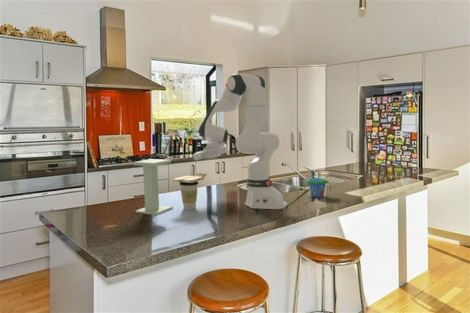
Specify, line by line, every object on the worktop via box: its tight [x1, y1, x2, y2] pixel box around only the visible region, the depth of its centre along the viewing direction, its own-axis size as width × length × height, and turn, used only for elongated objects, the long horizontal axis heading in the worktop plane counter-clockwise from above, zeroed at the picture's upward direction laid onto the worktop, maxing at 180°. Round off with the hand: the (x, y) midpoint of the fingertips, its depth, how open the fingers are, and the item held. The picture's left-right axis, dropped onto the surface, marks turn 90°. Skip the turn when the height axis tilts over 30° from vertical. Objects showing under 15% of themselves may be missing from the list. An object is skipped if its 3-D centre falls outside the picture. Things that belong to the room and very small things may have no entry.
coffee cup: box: [179, 181, 199, 211], centre depth 198 cm, size 10×10×15 cm
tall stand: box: [132, 158, 174, 216], centre depth 193 cm, size 13×14×26 cm
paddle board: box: [172, 173, 207, 183], centre depth 201 cm, size 12×21×1 cm, turn 155°
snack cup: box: [303, 177, 332, 198], centre depth 221 cm, size 16×10×10 cm
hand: (208, 155), depth 210 cm, fingers open, 8 cm apart
